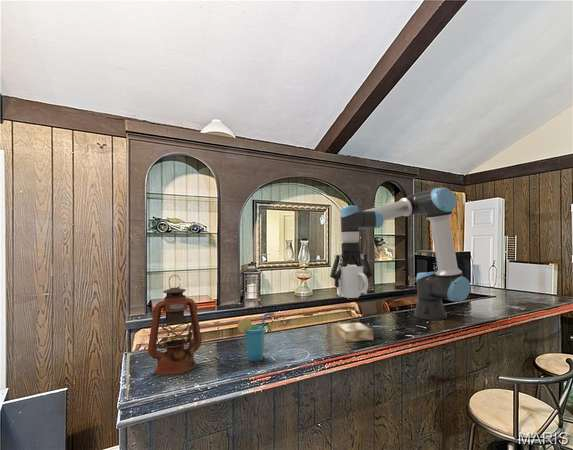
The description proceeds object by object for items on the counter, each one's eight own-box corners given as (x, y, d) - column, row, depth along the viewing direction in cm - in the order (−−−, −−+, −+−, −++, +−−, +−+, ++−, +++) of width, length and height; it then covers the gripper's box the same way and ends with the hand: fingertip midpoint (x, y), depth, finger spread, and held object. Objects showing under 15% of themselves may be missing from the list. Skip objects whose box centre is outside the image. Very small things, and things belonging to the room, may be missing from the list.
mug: (377, 298, 131) (375, 265, 131) (358, 301, 125) (356, 267, 125) (351, 293, 143) (349, 264, 144) (332, 296, 137) (331, 266, 138)
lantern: (150, 380, 95) (150, 278, 96) (145, 366, 106) (145, 275, 108) (206, 368, 103) (206, 274, 105) (197, 356, 114) (196, 272, 116)
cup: (269, 350, 118) (268, 309, 119) (280, 357, 112) (279, 313, 112) (234, 359, 111) (233, 315, 111) (244, 366, 104) (243, 319, 105)
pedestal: (360, 331, 141) (360, 322, 141) (373, 339, 129) (373, 329, 129) (334, 333, 138) (334, 324, 138) (345, 342, 126) (345, 331, 127)
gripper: (371, 241, 142) (373, 291, 141) (321, 242, 137) (322, 294, 136) (379, 241, 135) (381, 294, 133) (327, 242, 130) (328, 297, 128)
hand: (352, 294), depth 135 cm, fingers closed on mug, 11 cm apart
